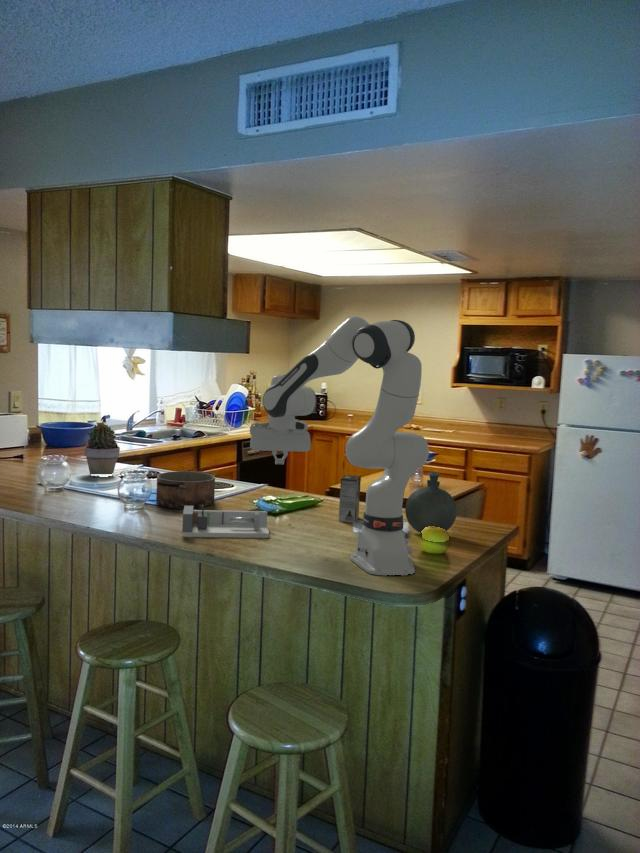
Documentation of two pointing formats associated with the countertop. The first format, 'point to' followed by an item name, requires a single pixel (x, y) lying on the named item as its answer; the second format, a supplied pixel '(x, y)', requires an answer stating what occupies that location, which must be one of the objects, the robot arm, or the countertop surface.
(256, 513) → the plunger
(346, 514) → the coffee box
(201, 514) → the needle rider
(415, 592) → the countertop surface
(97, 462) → the potted plant
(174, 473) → the cooking pot
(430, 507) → the flask
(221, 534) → the gauge bed
